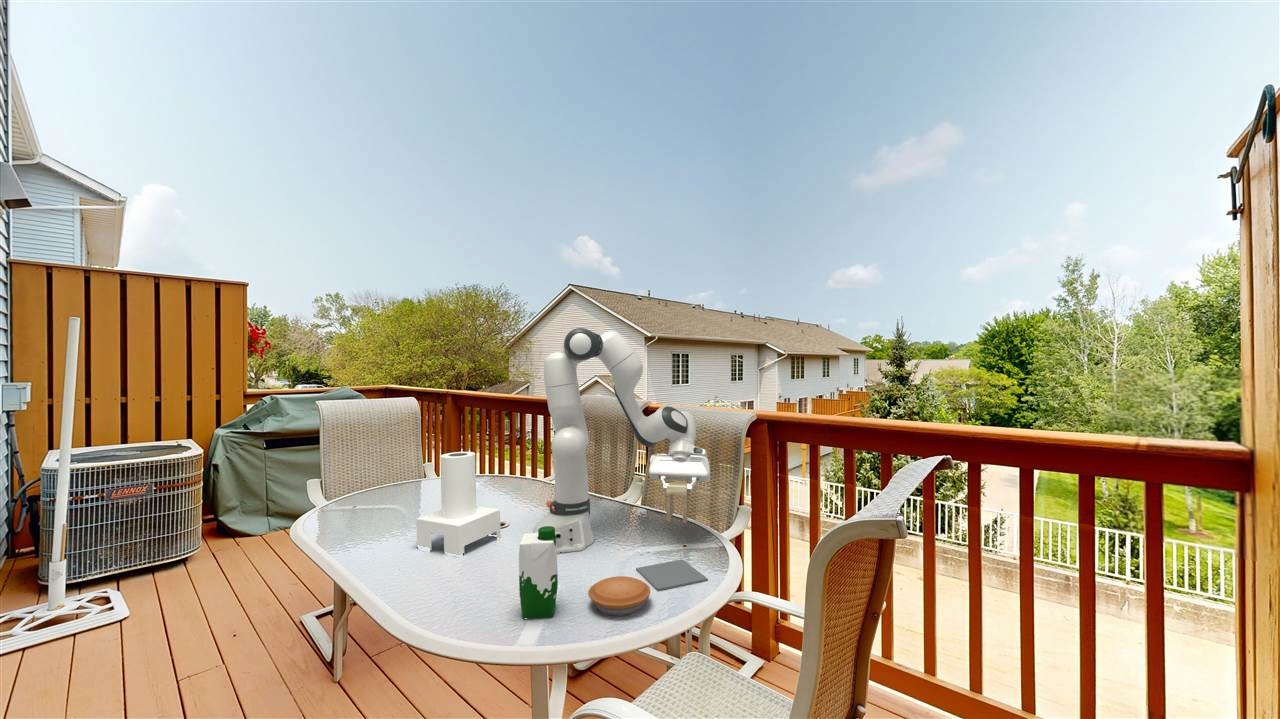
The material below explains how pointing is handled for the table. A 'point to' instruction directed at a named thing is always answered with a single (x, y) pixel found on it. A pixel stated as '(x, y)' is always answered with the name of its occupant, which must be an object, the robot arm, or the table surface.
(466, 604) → the table surface
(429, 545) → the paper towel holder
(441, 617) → the table surface
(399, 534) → the table surface
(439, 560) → the table surface
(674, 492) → the stool
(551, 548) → the milk carton
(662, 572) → the mat
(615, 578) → the pie
